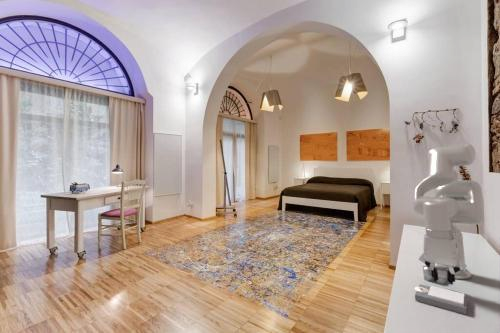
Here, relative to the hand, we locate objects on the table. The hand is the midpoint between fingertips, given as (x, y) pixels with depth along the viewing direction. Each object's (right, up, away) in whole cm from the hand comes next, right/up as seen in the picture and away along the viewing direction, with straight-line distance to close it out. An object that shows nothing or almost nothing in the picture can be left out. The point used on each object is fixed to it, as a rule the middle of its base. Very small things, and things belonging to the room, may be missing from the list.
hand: (443, 280), depth 86 cm
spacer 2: (0, 0, 0) cm, 0 cm away
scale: (-7, -3, -7) cm, 11 cm away
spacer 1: (+1, -4, +8) cm, 9 cm away
